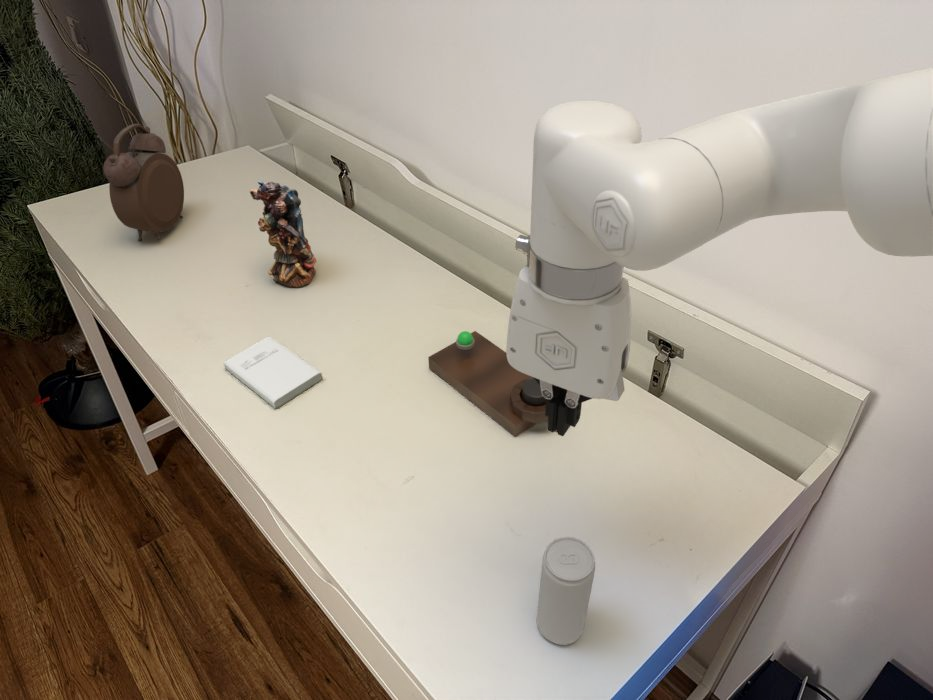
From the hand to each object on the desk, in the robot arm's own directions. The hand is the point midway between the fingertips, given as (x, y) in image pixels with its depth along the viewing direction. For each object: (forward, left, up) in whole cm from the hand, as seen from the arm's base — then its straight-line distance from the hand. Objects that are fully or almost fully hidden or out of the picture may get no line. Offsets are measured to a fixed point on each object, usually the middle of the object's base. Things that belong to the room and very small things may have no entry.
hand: (561, 424), depth 67 cm
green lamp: (+28, -12, -14) cm, 34 cm away
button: (+14, -12, -14) cm, 23 cm away
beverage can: (-8, +7, -18) cm, 21 cm away
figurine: (+65, -4, -18) cm, 68 cm away
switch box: (+21, -12, -18) cm, 30 cm away
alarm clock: (+96, +6, -18) cm, 98 cm away
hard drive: (+45, +10, -18) cm, 50 cm away
